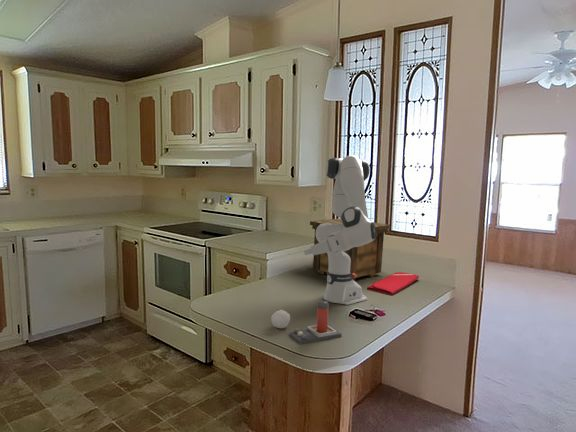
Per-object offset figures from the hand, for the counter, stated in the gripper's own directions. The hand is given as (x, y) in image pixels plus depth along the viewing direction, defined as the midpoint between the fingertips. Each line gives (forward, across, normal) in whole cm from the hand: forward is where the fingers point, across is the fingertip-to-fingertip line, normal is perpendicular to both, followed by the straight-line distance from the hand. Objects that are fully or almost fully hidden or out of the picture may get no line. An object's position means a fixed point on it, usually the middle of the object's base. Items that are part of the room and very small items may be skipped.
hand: (308, 251), depth 177 cm
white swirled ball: (+19, +11, +26) cm, 34 cm away
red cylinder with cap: (+2, +10, +32) cm, 33 cm away
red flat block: (-16, -78, +36) cm, 88 cm away
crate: (+12, -87, +23) cm, 91 cm away
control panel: (+4, +12, +32) cm, 35 cm away
